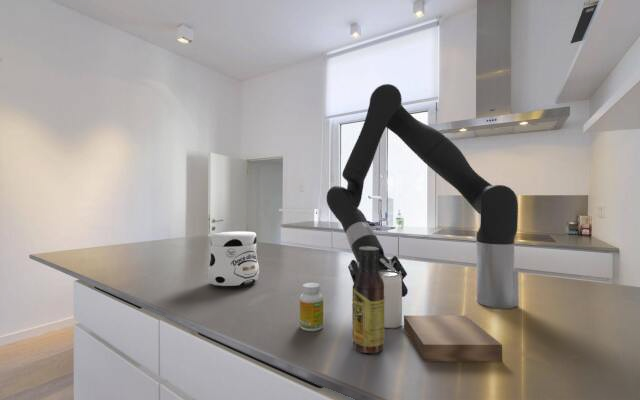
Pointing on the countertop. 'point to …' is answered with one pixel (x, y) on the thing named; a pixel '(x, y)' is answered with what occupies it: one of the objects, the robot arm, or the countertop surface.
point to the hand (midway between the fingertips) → (390, 297)
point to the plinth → (451, 339)
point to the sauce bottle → (368, 303)
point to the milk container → (233, 259)
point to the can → (392, 298)
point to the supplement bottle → (311, 307)
